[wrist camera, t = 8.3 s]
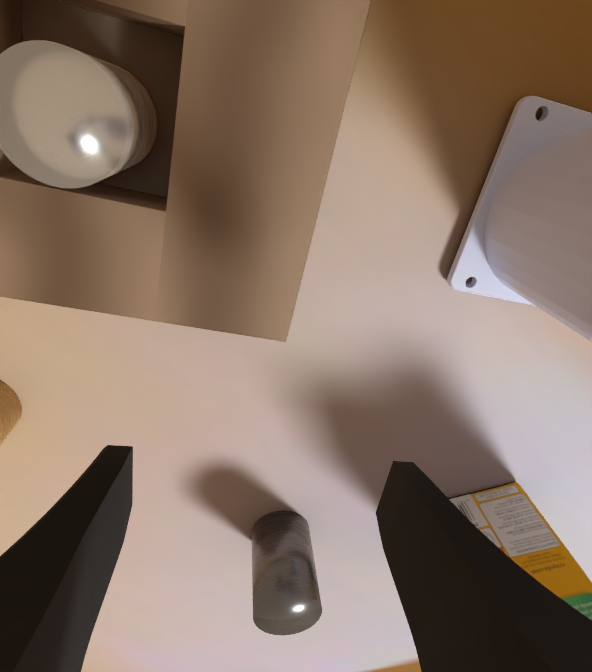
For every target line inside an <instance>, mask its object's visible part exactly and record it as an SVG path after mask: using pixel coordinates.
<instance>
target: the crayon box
mask: <svg viewBox="0 0 592 672" xmlns="http://www.w3.org/2000/svg"><path fill="white" fill-rule="evenodd" d="M449 500H450V501H451V502H452V503H453V504H454V505H455V506H456V507H457V508H458V509H459V510H460V511H461V512H462V513H463V514H464V515H465V516H466V517H467V518H468V519H469V520H470V521H471V522H472V523H473V524H474V525H475V526H476V527H477V528H478V529H479V530H480V531H481V532H482V533H483V534H484V535H485V536H486V537H487V538H489V539H490V540H491V541H492V542H493V543H494V544H495V545H496V546H497V547H498V548H499V549H500V550H502V551H503V552H504V553H505V554H506V555H507V556H508V557H510V558H511V559H512V560H513V561H514V562H515V563H517V564H518V565H519V566H520V567H521V568H523V569H524V570H525V571H526V572H528V573H529V574H530V575H531V576H532V577H534V578H535V579H536V580H537V581H539V582H540V583H541V584H542V585H544V586H545V587H546V588H548V589H549V590H550V591H552V592H553V593H554V594H555V595H557V596H558V597H560V598H561V599H562V600H564V601H565V602H567V603H568V604H569V605H571V606H572V607H573V608H575V609H576V610H578V611H579V612H580V613H582V614H583V615H585V616H586V617H588V618H589V619H591V620H592V582H591V581H590V580H589V578H588V577H587V576H586V574H585V573H584V571H583V570H582V569H581V567H580V566H579V565H578V563H577V562H576V561H575V559H574V558H573V557H572V555H571V554H570V553H569V551H568V550H567V548H566V547H565V546H564V544H563V543H562V542H561V540H560V539H559V538H558V536H557V535H556V534H555V532H554V531H553V529H552V528H551V527H550V525H549V524H548V523H547V521H546V520H545V519H544V517H543V516H542V515H541V513H540V512H539V511H538V509H537V508H536V506H535V505H534V504H533V503H532V501H531V500H530V498H529V497H528V495H527V494H526V493H525V492H524V490H523V489H522V488H521V486H520V485H519V484H518V483H517V482H512V483H508V484H506V485H505V486H501V487H497V488H493V489H489V490H485V491H481V492H477V493H473V494H468V495H464V496H460V497H456V498H452V499H449Z"/></svg>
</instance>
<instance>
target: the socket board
mask: <svg viewBox="0 0 592 672" xmlns="http://www.w3.org/2000/svg"><path fill="white" fill-rule="evenodd" d="M57 1H61V2H64V3H68V4H71V5H75V6H78V7H82V8H85V9H89V10H92V11H96V12H99V13H103V14H106V15H110V16H113V17H117V18H120V19H124V20H127V21H131V22H134V23H138V24H141V25H145V26H148V27H152V28H155V29H159V30H162V31H166V32H169V33H173V34H176V35H180V36H183V37H184V43H183V53H182V62H181V72H180V82H179V91H178V101H177V111H176V120H175V130H174V140H173V149H172V159H171V168H170V178H169V188H168V197H167V198H166V197H161V196H156V195H152V194H147V193H142V192H138V191H133V190H128V189H124V188H119V187H114V186H110V185H105V184H100V183H94V184H92V185H89V186H86V187H81V188H59V187H55V186H51V185H48V184H45V183H42V182H40V181H38V180H36V179H34V178H32V177H30V176H29V175H27V174H26V173H24V172H23V171H21V170H20V169H19V168H18V167H16V166H15V165H14V164H13V163H12V162H11V161H10V160H9V159H8V158H7V156H6V155H5V154H4V153H3V152H2V150H1V149H0V296H1V297H7V298H13V299H19V300H26V301H32V302H38V303H45V304H51V305H57V306H63V307H70V308H76V309H82V310H89V311H95V312H101V313H107V314H114V315H120V316H126V317H133V318H139V319H145V320H151V321H158V322H164V323H170V324H177V325H183V326H189V327H195V328H202V329H208V330H214V331H221V332H227V333H233V334H239V335H246V336H252V337H258V338H265V339H271V340H277V341H283V342H286V340H287V336H288V332H289V328H290V324H291V320H292V316H293V312H294V308H295V304H296V300H297V296H298V292H299V288H300V284H301V280H302V276H303V272H304V268H305V264H306V260H307V256H308V252H309V248H310V243H311V239H312V235H313V231H314V227H315V223H316V219H317V215H318V211H319V207H320V203H321V199H322V195H323V191H324V187H325V183H326V179H327V175H328V171H329V167H330V163H331V159H332V155H333V151H334V147H335V143H336V139H337V135H338V131H339V127H340V123H341V119H342V115H343V111H344V106H345V102H346V98H347V94H348V90H349V86H350V82H351V78H352V74H353V70H354V66H355V62H356V58H357V54H358V50H359V46H360V42H361V38H362V34H363V30H364V26H365V22H366V18H367V14H368V10H369V6H370V2H371V0H57ZM21 42H22V11H21V0H0V54H1V53H2V52H4V51H5V50H6V49H8V48H9V47H11V46H13V45H15V44H18V43H21Z"/></svg>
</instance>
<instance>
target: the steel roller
mask: <svg viewBox="0 0 592 672" xmlns="http://www.w3.org/2000/svg"><path fill="white" fill-rule="evenodd" d="M157 129H158V121H157V114H156V110H155V107H154V104H153V101H152V99H151V97H150V95H149V93H148V92H147V90H146V89H145V87H144V86H143V85H142V84H141V82H140V81H139V80H138V79H137V78H136V77H134V76H133V75H132V74H131V73H129V72H128V71H126V70H125V69H123V68H121V67H119V66H116V65H114V64H111V63H109V62H106V61H104V60H101V59H99V58H96V57H93V56H91V55H88V54H86V53H83V52H81V51H78V50H75V49H73V48H70V47H68V46H65V45H62V44H59V43H56V42H51V41H45V40H32V41H25V42H21V43H18V44H15V45H13V46H11V47H9V48H8V49H6V50H5V51H4V52H2V53H1V54H0V149H1V150H2V152H3V153H4V154H5V155H6V156H7V158H8V159H9V160H10V161H11V162H12V163H13V164H14V165H15V166H16V167H18V168H19V169H20V170H21V171H23V172H24V173H26V174H27V175H29V176H30V177H32V178H34V179H36V180H38V181H40V182H42V183H45V184H48V185H51V186H55V187H59V188H81V187H86V186H89V185H92V184H94V183H96V182H99V181H101V180H103V179H105V178H107V177H109V176H112V175H114V174H116V173H118V172H120V171H122V170H125V169H127V168H129V167H131V166H133V165H135V164H137V163H139V162H140V161H142V160H143V159H144V158H145V157H146V156H147V155H148V154H149V152H150V151H151V149H152V147H153V145H154V143H155V140H156V136H157Z"/></svg>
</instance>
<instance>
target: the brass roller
mask: <svg viewBox="0 0 592 672" xmlns="http://www.w3.org/2000/svg"><path fill="white" fill-rule="evenodd" d="M21 413H22V408H21V403H20V400H19V398H18V396H17V395H16V393H15V392H14V391H13V390H12V389H11V388H10V387H9V386H8V385H7V384H5V383H4V382H2V381H1V380H0V446H1V444H2V443H3V441H4V440H5V439H6V437H7V436H8V435H9V433H10V432H11V431H12V429H13V428H14V427H15V425H16V424H17V422H18V421H19V419H20V417H21Z"/></svg>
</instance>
